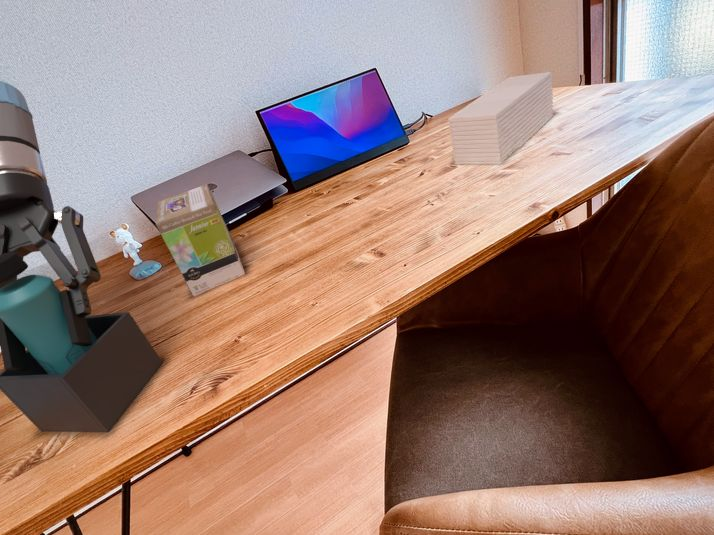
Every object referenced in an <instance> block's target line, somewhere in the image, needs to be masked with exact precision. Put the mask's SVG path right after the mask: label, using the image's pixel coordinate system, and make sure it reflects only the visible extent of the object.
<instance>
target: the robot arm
mask: <svg viewBox="0 0 714 535" xmlns="http://www.w3.org/2000/svg"><path fill="white" fill-rule="evenodd" d="M54 209H55V207H54V202H53V199H52V194H51V190H50V187H49V184H48V179H47V176H46V172H45V168H44V164H43V160H42V157H41V152H40V147H39V142H38V137H37V134H36V129H35V124H34V121H33V114H32V112H31V111H30V109H29V106H28V102H27V100H26V97H25V95H24V94H23V93H22V92H21V91H20V90H19V89H18V88H16V86H14V85H13V84H11V83H8V82H6V81H2V80H0V255H2V254H5V253H8V252H16V253H17V254H18V255H19V256H20V257H21V258H22V259H23V260H24V257H27V256H28V255H30V254H31V253H36V252H37V253H38V252H40V254H41V255H42V256H43V257H44V259H45V260H46V262H47V263H48V265H49V266H50V267H51V268H52V270H53V271H54V273H55V274H56V275H57V276H58V277H59V279H60V280H61V282H62V284H61V286H62V287H66V288H68V289H64V290H60V296H61V301H62V305H63V309H64V313H65V317H66V321H67V326H68V330H69V334H70V338H71V342H72V344H74V345H79V346H84V347H87V346H89V345H92V341H91V337H90V333H89V329H88V325H87V321H86V317H85V316H91V315H92V305H91V302H90V300H89V299H90V298H89V295H88V294H89V293H88V288H89V287H90V286H91V285H92V284H93V283H98V282H99V281H100V280H101V279H102V275H101V272H100V270H99V267H98V265H97V262H96V260H95V256H94V255H93V252H92V250H91V246H90V244H89V241H88V238H87V236H86V234H85V231H84V215H83V214H82V213H80V212H79V211H77V210H76V209H75V208H73V207H72V206H69V205H66V206H64V207H63V208H62V209H61V210H57V211H56V210H54ZM58 225H60V226H61V228H62V232H63V234H64V237H65V239H66V242H67V246H68V247H69V250H70V253H71V255H72V258H73V260H74V264H75V266H76V268H75V267H74V266H73V264H72V263H71V262H70V260H69V259H68V258H67V256H66V255H65V254H64V252H63V251H62V250H61V249H62V248H61V246H60V245H59V244H58V243H57V241H56V240H55V239H54V237H53V236H54V234H55V232H56V229H57V228H58ZM17 279H18V275H17V276H16V277H14V278H12V279H10V280H7V281H5V282H3V283H0V289H1V288H2V287H4V286H5V285H7V284H9V283H11V282H13V281H15V280H17ZM25 348H26V347H25V346H24V345H23V344H22V342H21V341H20V340H19V339H18V338H17V337H16V336H15V334H14V333H13V332H12V331H11V330H10V329H9V327H8V326H7V325H6V324H5V323H4V322H3V321H2V319H1V318H0V351H1V356H2V361H3V368H4V369H5V370H10V371H25V370H28V369H29V364H28V359H27V354H26V351H27V349H25Z"/></svg>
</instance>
